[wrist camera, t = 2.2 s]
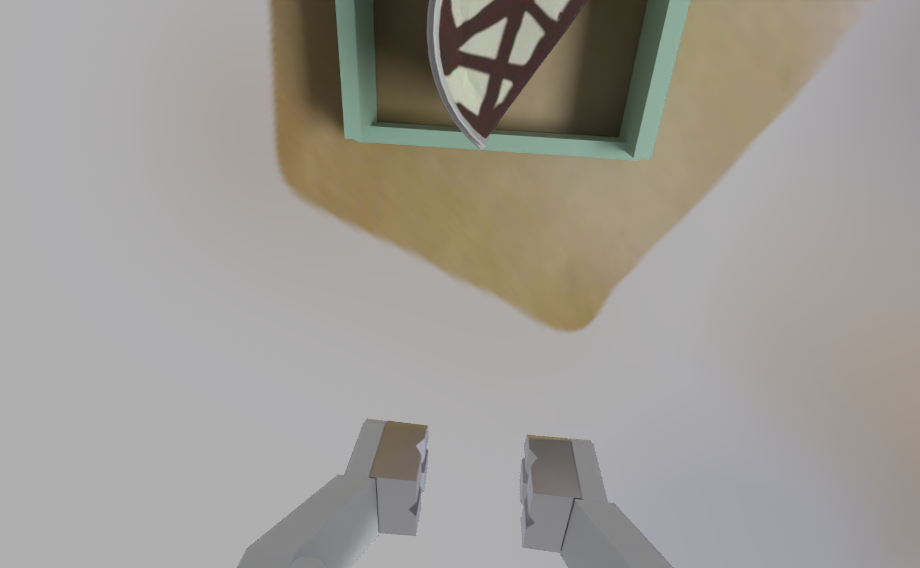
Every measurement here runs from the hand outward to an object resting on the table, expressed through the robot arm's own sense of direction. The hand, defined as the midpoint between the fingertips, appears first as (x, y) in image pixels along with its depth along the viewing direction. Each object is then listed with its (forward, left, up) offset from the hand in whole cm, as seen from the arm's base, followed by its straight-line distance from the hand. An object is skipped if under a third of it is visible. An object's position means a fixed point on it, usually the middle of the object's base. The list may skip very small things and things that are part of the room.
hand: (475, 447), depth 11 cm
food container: (-11, 0, -23) cm, 26 cm away
